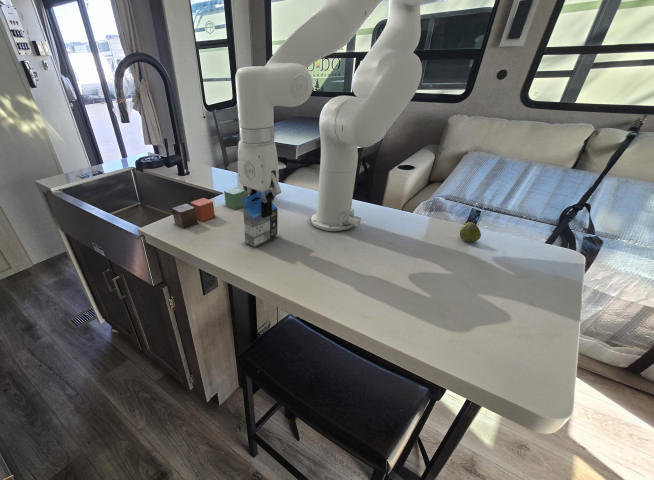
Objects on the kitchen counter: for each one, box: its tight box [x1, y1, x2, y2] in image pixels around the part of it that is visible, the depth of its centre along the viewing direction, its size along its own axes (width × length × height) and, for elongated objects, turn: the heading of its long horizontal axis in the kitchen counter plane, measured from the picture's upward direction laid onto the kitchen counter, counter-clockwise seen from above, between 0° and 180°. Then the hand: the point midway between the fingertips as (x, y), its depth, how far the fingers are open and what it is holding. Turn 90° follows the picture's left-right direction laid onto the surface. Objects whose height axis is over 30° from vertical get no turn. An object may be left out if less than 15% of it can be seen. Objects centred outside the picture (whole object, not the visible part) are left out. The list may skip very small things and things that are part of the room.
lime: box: [459, 221, 482, 243], centre depth 78 cm, size 4×5×5 cm
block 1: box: [171, 203, 199, 229], centre depth 94 cm, size 5×5×5 cm
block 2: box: [190, 197, 216, 223], centre depth 97 cm, size 5×5×5 cm
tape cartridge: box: [242, 191, 279, 248], centre depth 81 cm, size 9×4×12 cm, turn 134°
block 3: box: [223, 187, 247, 210], centre depth 104 cm, size 5×5×5 cm
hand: (260, 213), depth 80 cm, fingers closed on tape cartridge, 3 cm apart
